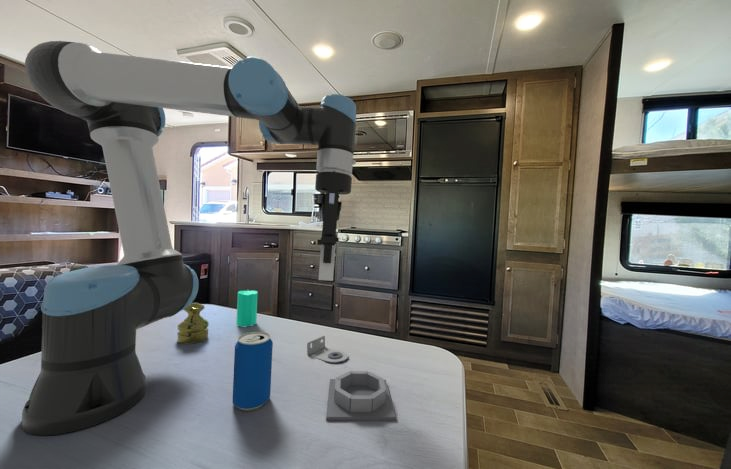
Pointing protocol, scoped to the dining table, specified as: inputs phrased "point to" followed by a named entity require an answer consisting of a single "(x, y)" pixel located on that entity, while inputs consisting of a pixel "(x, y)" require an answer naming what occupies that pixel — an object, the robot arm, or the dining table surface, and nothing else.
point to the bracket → (328, 355)
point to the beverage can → (252, 370)
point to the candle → (247, 308)
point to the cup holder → (359, 397)
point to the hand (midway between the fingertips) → (327, 274)
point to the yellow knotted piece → (193, 325)
